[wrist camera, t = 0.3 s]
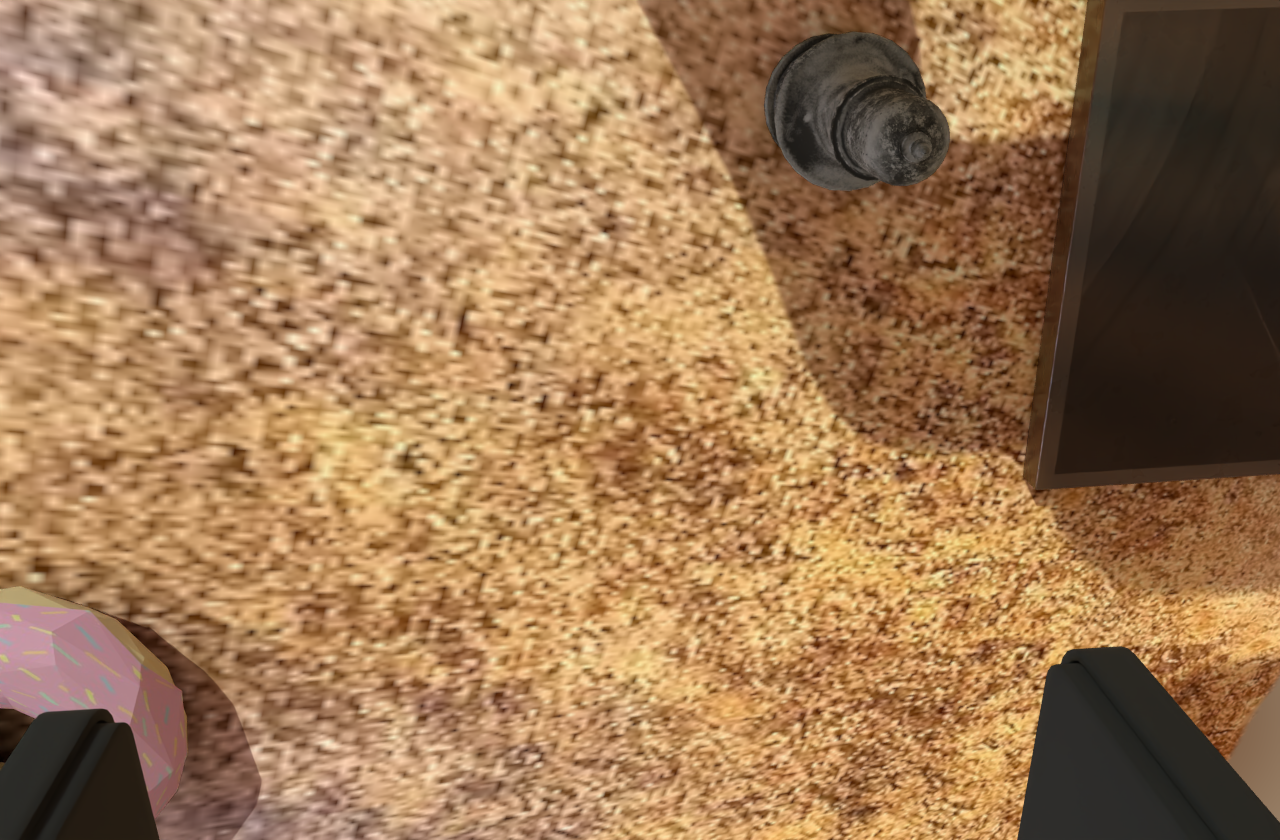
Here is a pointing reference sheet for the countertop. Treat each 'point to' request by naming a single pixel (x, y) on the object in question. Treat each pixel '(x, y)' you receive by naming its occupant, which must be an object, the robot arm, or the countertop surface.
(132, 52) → the countertop surface
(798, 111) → the stone chess piece
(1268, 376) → the board
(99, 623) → the donut
